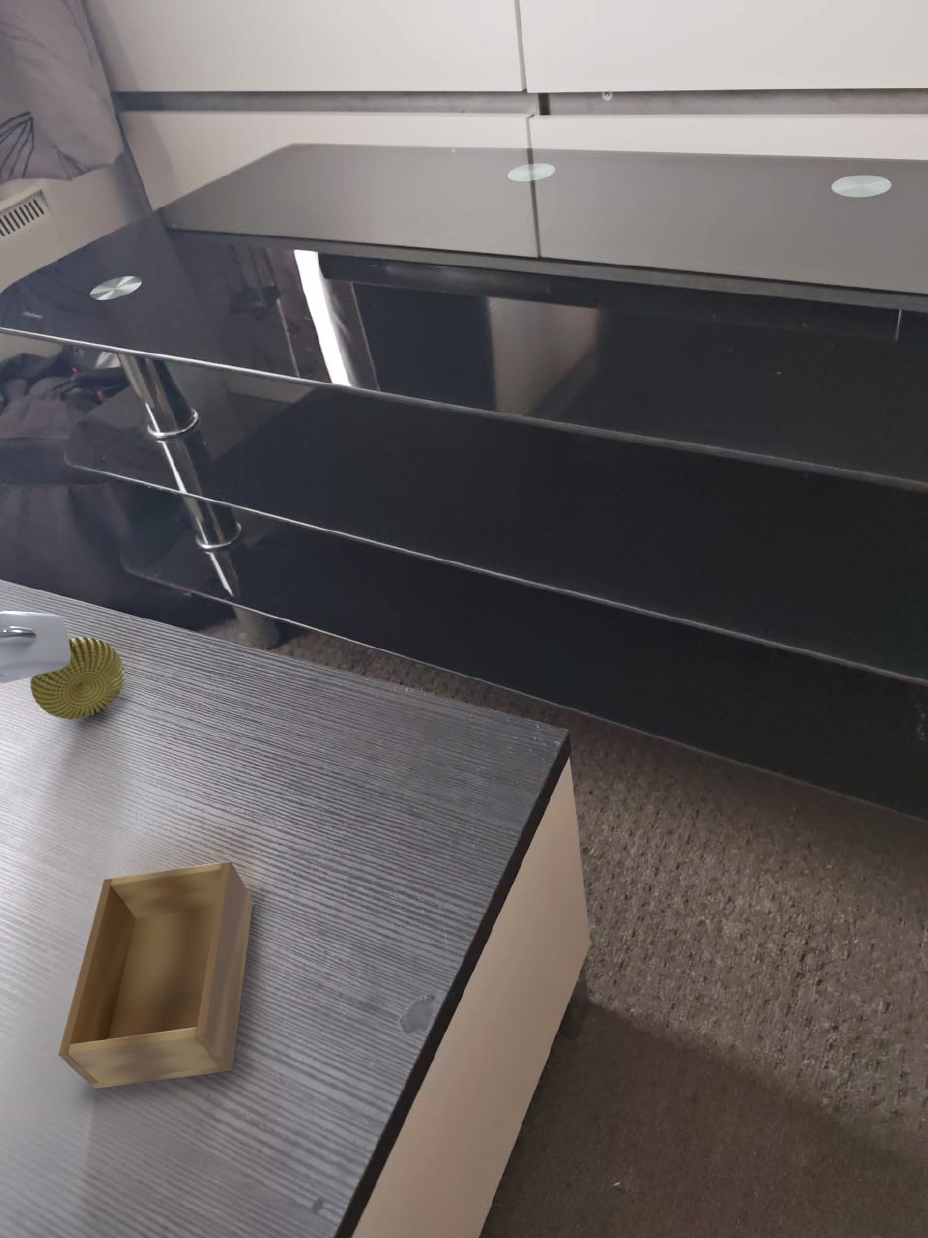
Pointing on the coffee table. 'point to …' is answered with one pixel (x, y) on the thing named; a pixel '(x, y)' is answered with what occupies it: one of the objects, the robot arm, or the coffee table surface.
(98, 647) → the sculpture
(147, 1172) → the coffee table surface
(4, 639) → the robot arm
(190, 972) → the wooden box
